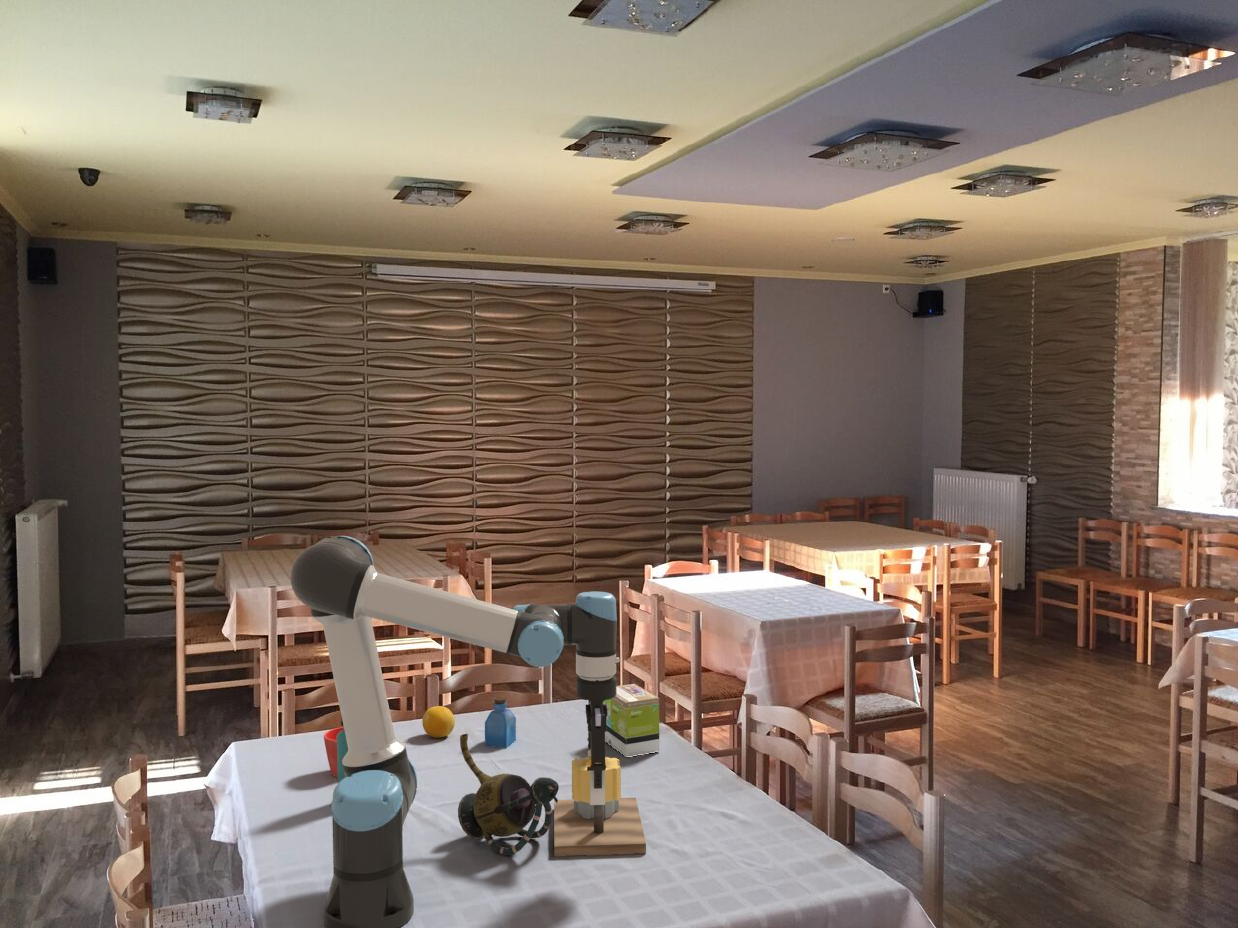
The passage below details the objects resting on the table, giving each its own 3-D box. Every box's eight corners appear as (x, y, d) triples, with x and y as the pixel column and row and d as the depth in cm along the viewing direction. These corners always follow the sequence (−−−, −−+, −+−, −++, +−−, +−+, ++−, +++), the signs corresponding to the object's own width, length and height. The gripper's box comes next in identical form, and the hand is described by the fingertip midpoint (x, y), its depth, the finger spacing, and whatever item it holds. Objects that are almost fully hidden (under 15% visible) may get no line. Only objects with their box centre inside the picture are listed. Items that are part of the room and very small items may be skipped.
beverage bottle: (359, 809, 220) (358, 719, 219) (331, 807, 221) (330, 717, 221) (372, 798, 226) (371, 711, 226) (345, 796, 228) (344, 709, 227)
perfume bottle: (484, 745, 263) (484, 700, 262) (494, 738, 269) (494, 694, 268) (506, 747, 261) (506, 702, 261) (516, 740, 267) (515, 696, 266)
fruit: (461, 735, 272) (460, 705, 271) (440, 743, 265) (440, 713, 265) (436, 729, 277) (436, 701, 276) (416, 737, 270) (415, 708, 269)
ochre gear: (621, 803, 184) (621, 771, 183) (572, 805, 183) (572, 772, 183) (618, 785, 193) (618, 754, 193) (571, 786, 192) (571, 755, 192)
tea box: (601, 741, 266) (601, 686, 265) (635, 736, 270) (635, 682, 269) (625, 758, 252) (625, 700, 252) (660, 753, 257) (660, 696, 256)
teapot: (471, 869, 199) (558, 840, 188) (426, 749, 204) (509, 714, 193) (507, 847, 210) (592, 818, 199) (464, 733, 214) (545, 699, 203)
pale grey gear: (626, 812, 213) (626, 784, 212) (590, 822, 208) (590, 793, 207) (602, 798, 220) (601, 771, 220) (566, 807, 215) (566, 780, 215)
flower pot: (373, 776, 241) (373, 736, 240) (326, 782, 237) (325, 741, 236) (367, 762, 251) (367, 723, 250) (322, 768, 246) (321, 729, 246)
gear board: (646, 853, 197) (645, 808, 197) (554, 856, 196) (554, 811, 196) (635, 806, 221) (635, 766, 221) (554, 808, 220) (553, 768, 220)
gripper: (620, 691, 176) (620, 816, 177) (612, 660, 198) (612, 772, 199) (577, 692, 176) (577, 817, 177) (574, 661, 198) (574, 773, 199)
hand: (596, 793), depth 188 cm, fingers closed on ochre gear, 9 cm apart
